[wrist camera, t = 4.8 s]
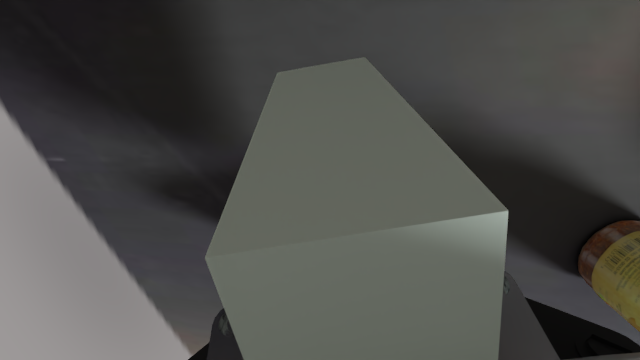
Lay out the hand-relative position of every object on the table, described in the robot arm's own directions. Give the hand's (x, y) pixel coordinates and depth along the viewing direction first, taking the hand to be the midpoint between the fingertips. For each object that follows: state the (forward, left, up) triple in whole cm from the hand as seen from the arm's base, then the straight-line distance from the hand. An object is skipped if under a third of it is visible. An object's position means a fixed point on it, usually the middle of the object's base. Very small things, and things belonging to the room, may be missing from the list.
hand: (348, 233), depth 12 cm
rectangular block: (0, 0, -3) cm, 3 cm away
